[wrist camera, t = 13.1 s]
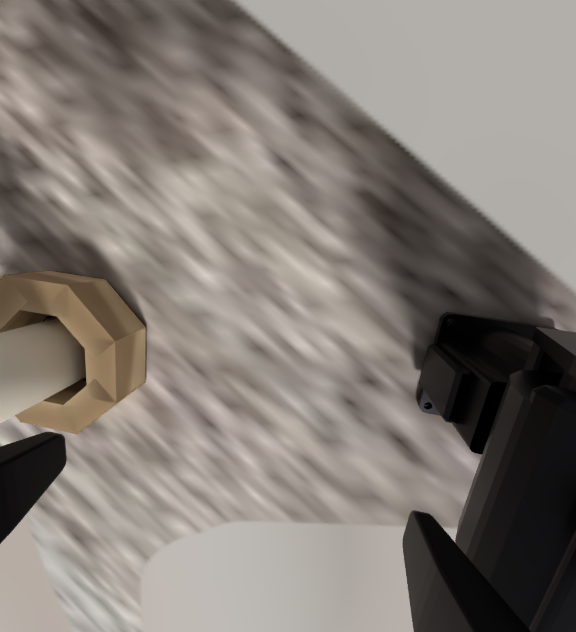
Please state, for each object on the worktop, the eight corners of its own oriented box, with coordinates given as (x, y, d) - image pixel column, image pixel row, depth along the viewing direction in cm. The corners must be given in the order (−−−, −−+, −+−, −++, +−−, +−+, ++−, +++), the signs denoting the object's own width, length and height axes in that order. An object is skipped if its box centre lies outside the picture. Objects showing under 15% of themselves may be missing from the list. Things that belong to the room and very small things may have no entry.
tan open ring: (146, 285, 19) (114, 292, 16) (145, 417, 22) (117, 443, 19) (12, 264, 20) (-40, 267, 17) (26, 392, 23) (-18, 413, 20)
